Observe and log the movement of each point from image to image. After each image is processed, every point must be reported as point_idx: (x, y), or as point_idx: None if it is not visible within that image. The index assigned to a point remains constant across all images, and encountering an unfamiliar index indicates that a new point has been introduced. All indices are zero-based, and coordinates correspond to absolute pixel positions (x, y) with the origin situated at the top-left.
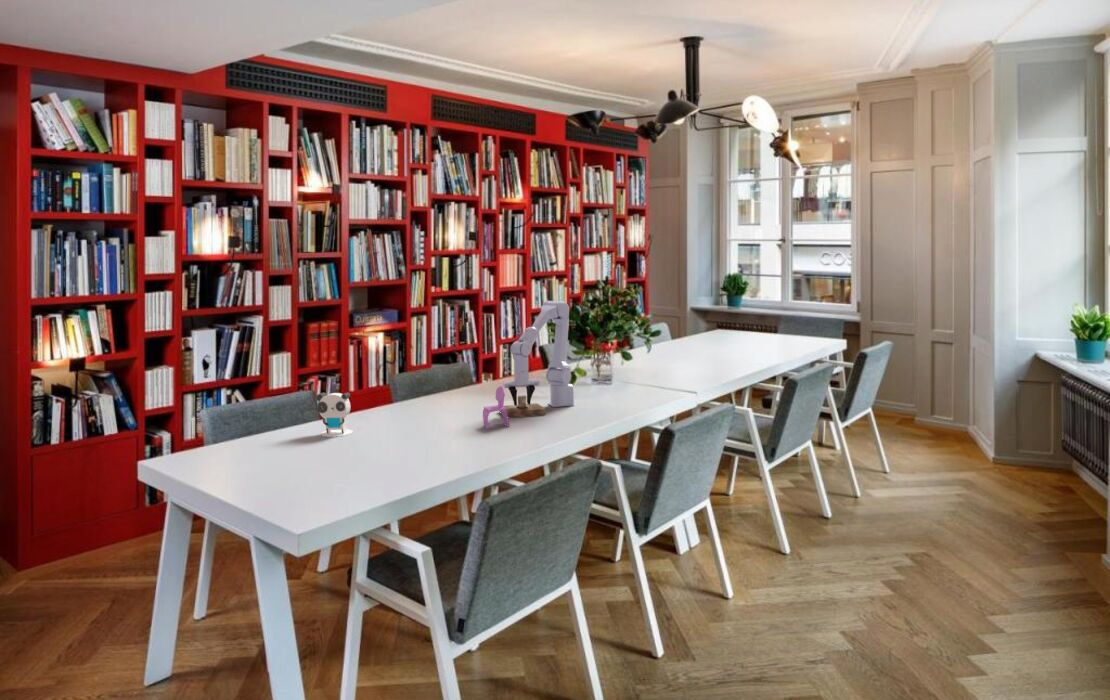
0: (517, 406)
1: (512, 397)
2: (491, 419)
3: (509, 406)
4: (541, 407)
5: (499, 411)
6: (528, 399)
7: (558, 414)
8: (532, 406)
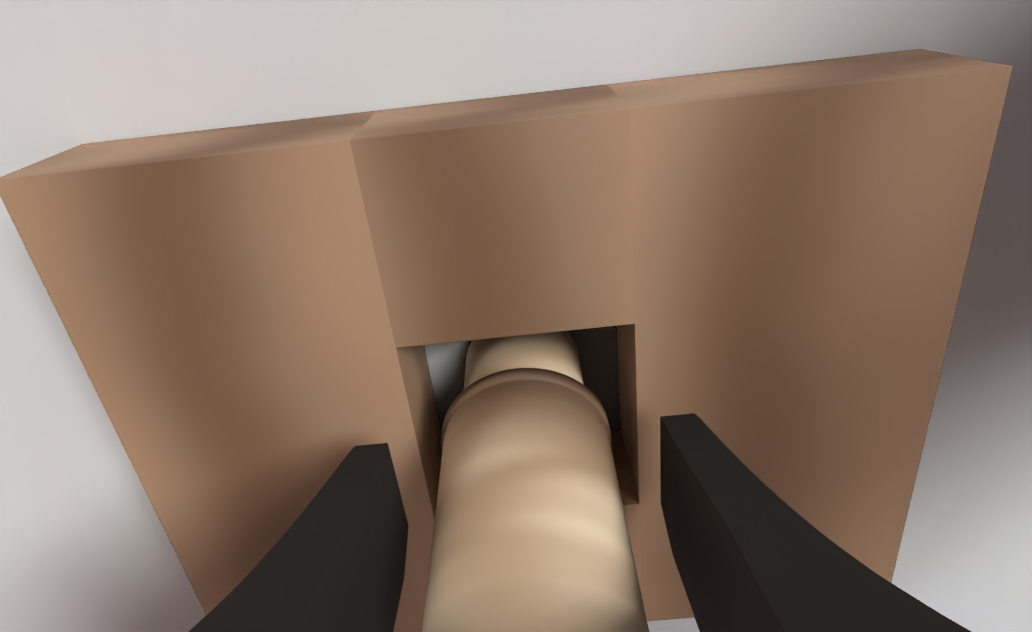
0: (443, 324)
1: (264, 567)
2: (56, 596)
3: (259, 285)
4: (875, 508)
5: (74, 147)
6: (693, 590)
7: (1025, 525)
8: (752, 396)
